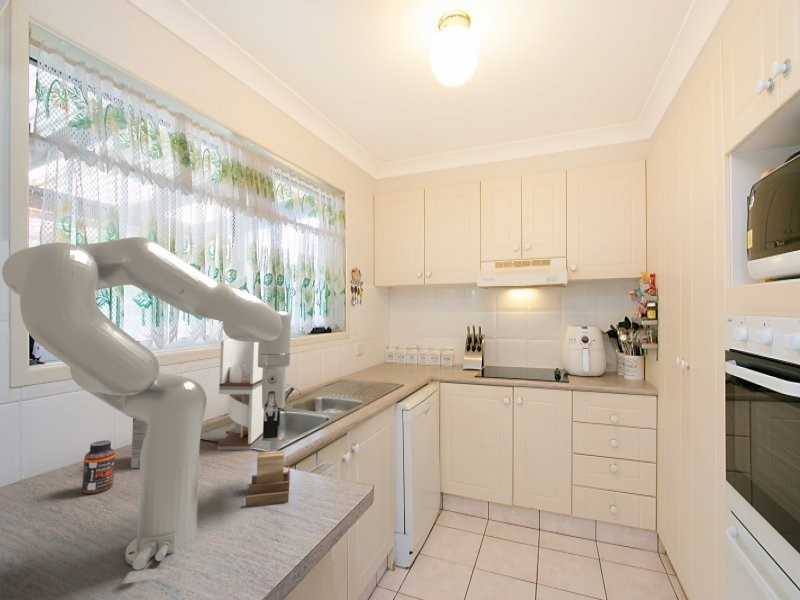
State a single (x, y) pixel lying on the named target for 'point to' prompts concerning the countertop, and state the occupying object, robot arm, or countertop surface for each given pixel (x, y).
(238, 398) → the display case
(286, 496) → the rack
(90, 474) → the supplement bottle
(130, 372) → the robot arm
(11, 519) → the countertop surface
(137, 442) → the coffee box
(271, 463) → the block
